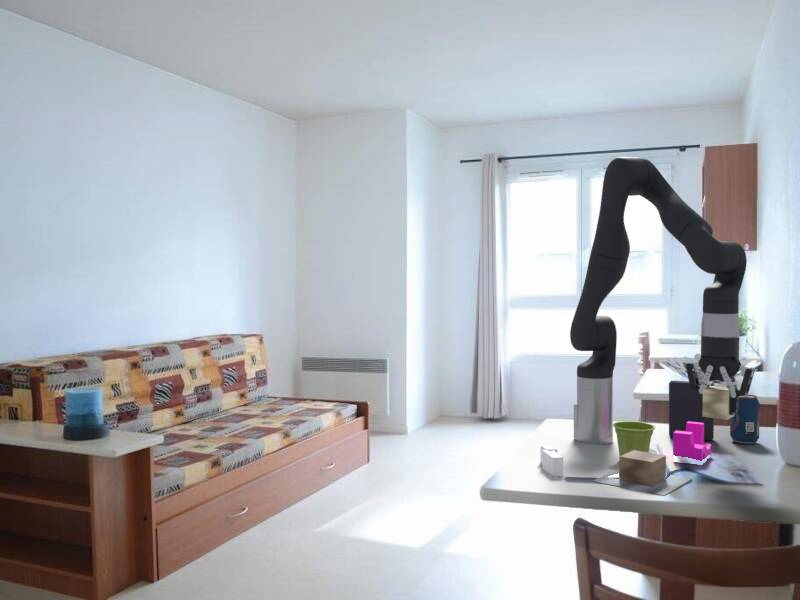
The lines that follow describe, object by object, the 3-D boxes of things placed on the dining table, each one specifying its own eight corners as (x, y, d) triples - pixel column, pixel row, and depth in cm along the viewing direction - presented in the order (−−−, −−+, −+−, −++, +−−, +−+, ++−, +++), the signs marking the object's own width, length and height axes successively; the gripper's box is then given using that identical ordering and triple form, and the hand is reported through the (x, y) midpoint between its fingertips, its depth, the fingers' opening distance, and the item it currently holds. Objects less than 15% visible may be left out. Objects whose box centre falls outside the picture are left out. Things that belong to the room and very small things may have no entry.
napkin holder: (567, 486, 147) (567, 459, 147) (516, 478, 153) (516, 452, 153) (588, 469, 160) (588, 444, 160) (540, 463, 166) (540, 439, 166)
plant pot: (661, 461, 165) (661, 424, 165) (644, 469, 158) (644, 431, 158) (623, 454, 171) (623, 419, 171) (605, 462, 164) (605, 425, 164)
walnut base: (592, 485, 146) (592, 456, 146) (624, 470, 157) (624, 444, 157) (664, 500, 136) (664, 469, 136) (692, 483, 147) (692, 455, 147)
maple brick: (702, 416, 151) (702, 388, 151) (710, 412, 155) (710, 386, 155) (726, 419, 148) (727, 391, 148) (734, 416, 152) (734, 388, 151)
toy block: (701, 468, 159) (701, 435, 159) (673, 464, 163) (673, 432, 163) (714, 454, 172) (715, 424, 172) (688, 451, 175) (688, 421, 175)
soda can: (726, 437, 188) (726, 393, 188) (753, 438, 188) (753, 393, 187) (735, 443, 181) (736, 397, 181) (763, 444, 181) (764, 398, 180)
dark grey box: (713, 437, 188) (714, 382, 188) (712, 441, 185) (713, 384, 184) (670, 434, 193) (670, 379, 193) (668, 437, 190) (668, 382, 189)
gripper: (679, 333, 153) (678, 410, 154) (750, 337, 143) (748, 420, 144) (692, 330, 158) (691, 405, 159) (761, 334, 149) (759, 414, 149)
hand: (718, 412), depth 151 cm, fingers closed on maple brick, 5 cm apart
